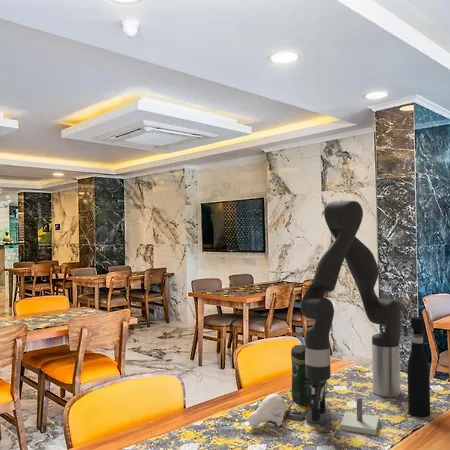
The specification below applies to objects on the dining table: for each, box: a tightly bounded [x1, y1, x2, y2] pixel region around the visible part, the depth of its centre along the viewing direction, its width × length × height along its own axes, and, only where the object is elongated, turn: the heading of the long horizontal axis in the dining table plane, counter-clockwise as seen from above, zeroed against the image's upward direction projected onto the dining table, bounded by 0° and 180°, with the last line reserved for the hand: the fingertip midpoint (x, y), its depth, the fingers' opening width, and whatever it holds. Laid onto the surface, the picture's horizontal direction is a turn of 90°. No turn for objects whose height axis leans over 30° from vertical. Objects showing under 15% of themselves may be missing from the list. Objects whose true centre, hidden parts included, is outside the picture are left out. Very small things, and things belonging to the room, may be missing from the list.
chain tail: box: [283, 404, 306, 421], centre depth 145 cm, size 5×8×2 cm, turn 66°
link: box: [306, 407, 332, 427], centre depth 142 cm, size 6×6×3 cm
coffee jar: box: [290, 344, 316, 406], centre depth 159 cm, size 10×8×19 cm
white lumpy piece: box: [247, 393, 286, 430], centre depth 139 cm, size 6×8×12 cm
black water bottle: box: [406, 316, 431, 419], centre depth 146 cm, size 6×6×30 cm
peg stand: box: [339, 397, 380, 436], centre depth 138 cm, size 10×10×8 cm
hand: (318, 415), depth 142 cm, fingers open, 8 cm apart
